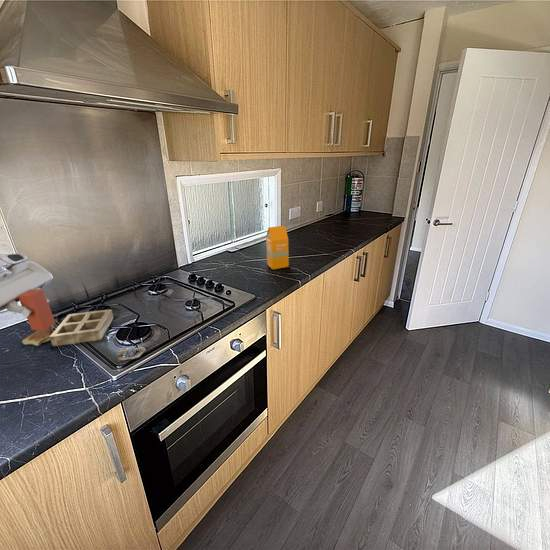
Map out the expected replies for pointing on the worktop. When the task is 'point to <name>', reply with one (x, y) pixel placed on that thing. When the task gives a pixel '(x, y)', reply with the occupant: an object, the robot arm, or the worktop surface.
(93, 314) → the four-pane grid frame
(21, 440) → the worktop surface
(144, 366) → the worktop surface
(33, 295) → the peg
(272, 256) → the orange juice
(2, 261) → the robot arm
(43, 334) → the shard
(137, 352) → the grey flat piece
